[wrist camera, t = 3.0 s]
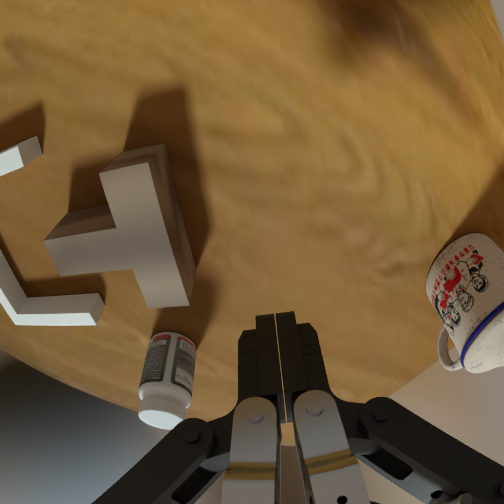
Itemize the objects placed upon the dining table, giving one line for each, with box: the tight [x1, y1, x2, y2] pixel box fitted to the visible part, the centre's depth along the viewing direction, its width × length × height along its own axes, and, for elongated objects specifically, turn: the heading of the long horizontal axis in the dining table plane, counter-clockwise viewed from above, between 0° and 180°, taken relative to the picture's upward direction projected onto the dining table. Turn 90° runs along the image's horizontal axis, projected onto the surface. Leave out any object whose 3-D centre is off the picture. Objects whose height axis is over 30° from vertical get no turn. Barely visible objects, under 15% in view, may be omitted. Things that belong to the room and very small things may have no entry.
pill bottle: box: [139, 332, 196, 430], centre depth 26 cm, size 5×5×8 cm
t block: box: [44, 143, 196, 308], centre depth 20 cm, size 10×9×4 cm
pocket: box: [0, 136, 105, 326], centre depth 21 cm, size 16×11×2 cm
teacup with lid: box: [426, 233, 504, 373], centre depth 21 cm, size 12×9×12 cm
